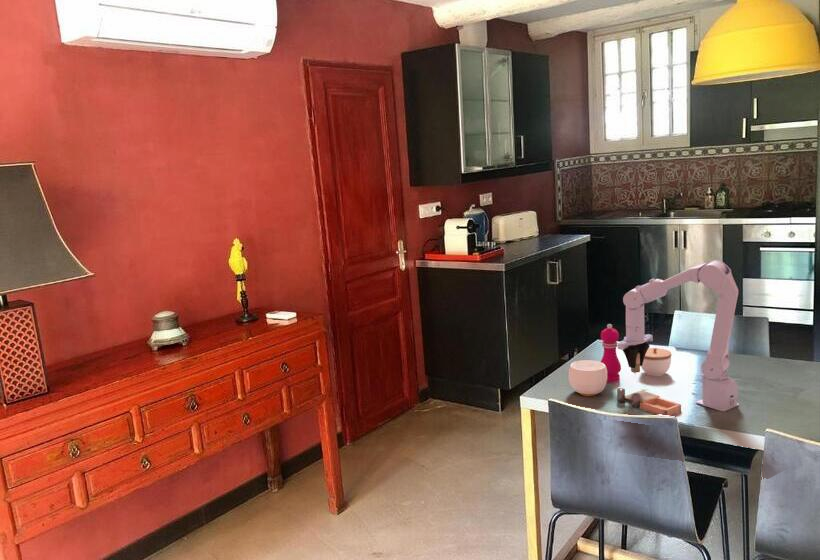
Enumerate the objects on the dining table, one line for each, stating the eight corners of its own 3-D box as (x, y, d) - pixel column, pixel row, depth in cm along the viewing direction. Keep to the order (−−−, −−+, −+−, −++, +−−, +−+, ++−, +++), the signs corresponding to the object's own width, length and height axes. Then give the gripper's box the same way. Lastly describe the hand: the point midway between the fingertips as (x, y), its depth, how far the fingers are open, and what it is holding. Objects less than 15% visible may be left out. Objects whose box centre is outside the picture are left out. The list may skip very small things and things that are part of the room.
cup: (579, 402, 216) (578, 373, 214) (563, 389, 228) (562, 362, 226) (614, 396, 218) (614, 368, 217) (596, 384, 230) (596, 357, 229)
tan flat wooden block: (659, 400, 214) (659, 396, 214) (640, 407, 210) (640, 403, 209) (641, 394, 220) (641, 390, 220) (622, 401, 216) (622, 396, 215)
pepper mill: (604, 375, 239) (603, 320, 236) (624, 378, 235) (623, 322, 231) (596, 381, 234) (595, 325, 230) (616, 384, 229) (615, 327, 226)
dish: (681, 411, 203) (681, 404, 203) (665, 417, 200) (665, 410, 199) (655, 403, 211) (655, 396, 211) (640, 408, 207) (640, 402, 207)
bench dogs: (642, 406, 209) (642, 394, 208) (637, 408, 208) (636, 396, 207) (620, 399, 216) (620, 387, 215) (615, 401, 215) (615, 389, 214)
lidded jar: (653, 380, 231) (653, 354, 229) (632, 372, 240) (632, 346, 239) (678, 375, 235) (678, 349, 233) (656, 366, 244) (656, 341, 243)
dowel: (641, 371, 220) (641, 353, 219) (636, 373, 218) (635, 355, 217) (634, 369, 222) (634, 351, 221) (629, 371, 221) (628, 353, 220)
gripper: (640, 319, 224) (640, 358, 227) (609, 327, 217) (610, 368, 220) (657, 323, 219) (658, 363, 221) (627, 332, 211) (627, 373, 214)
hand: (635, 366), depth 220 cm, fingers closed on dowel, 3 cm apart
